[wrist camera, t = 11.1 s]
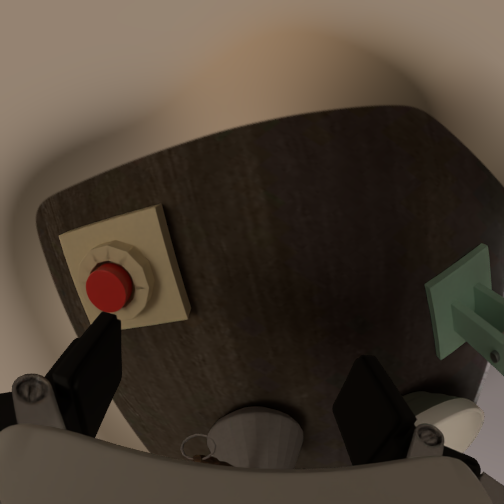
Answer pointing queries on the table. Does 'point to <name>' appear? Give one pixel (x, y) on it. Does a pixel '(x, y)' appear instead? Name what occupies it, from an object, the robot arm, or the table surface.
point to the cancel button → (109, 287)
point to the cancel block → (131, 265)
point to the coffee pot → (253, 440)
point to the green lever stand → (467, 308)
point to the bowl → (447, 417)
